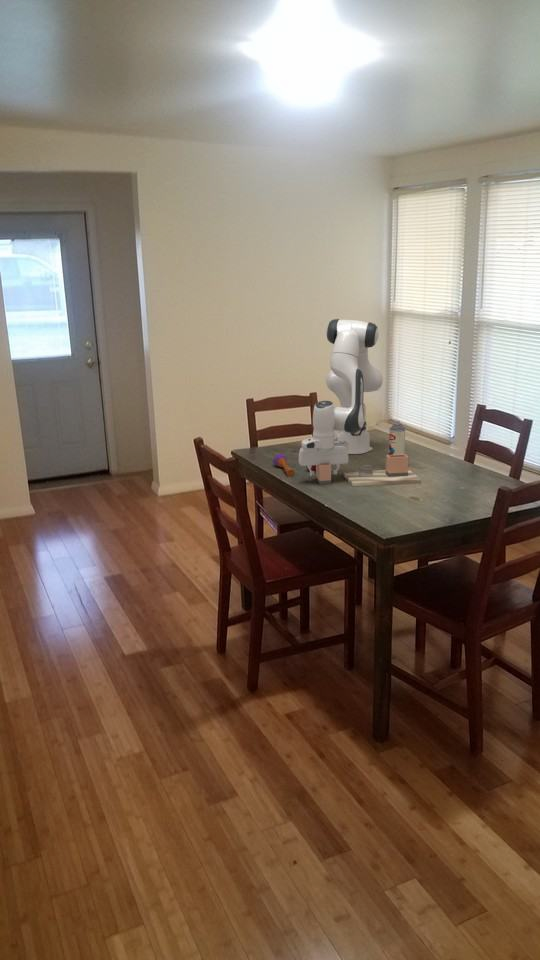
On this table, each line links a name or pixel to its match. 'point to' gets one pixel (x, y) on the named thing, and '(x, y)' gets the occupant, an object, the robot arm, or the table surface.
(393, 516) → the table surface
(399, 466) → the seated sleeve
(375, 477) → the wooden slatted tray
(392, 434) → the aerosol can
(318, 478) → the sleeve
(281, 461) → the kendama
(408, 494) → the table surface
